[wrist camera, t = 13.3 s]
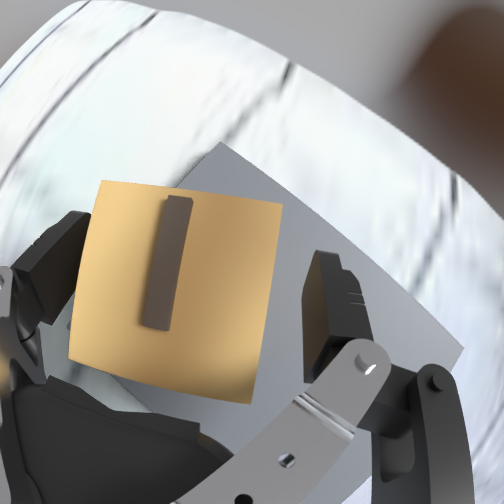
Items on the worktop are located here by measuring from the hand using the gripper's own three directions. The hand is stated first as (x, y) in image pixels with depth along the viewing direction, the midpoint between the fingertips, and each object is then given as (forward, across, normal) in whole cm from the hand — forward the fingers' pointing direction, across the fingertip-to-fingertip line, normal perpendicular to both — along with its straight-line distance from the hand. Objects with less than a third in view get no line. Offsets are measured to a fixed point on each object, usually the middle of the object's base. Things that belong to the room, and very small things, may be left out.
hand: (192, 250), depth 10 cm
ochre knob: (+3, 0, +5) cm, 5 cm away
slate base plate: (+2, -4, +7) cm, 9 cm away
